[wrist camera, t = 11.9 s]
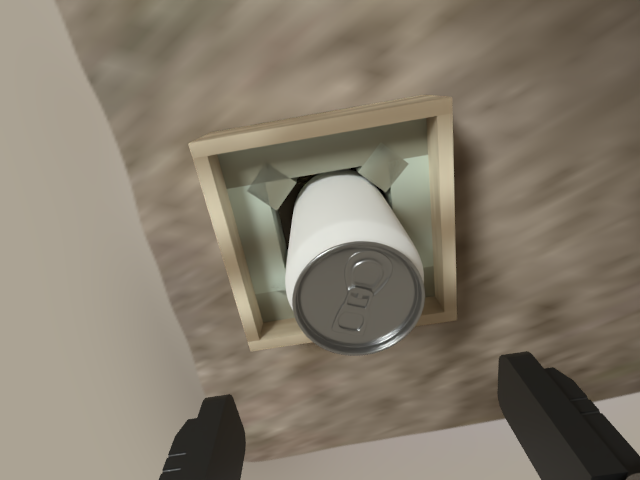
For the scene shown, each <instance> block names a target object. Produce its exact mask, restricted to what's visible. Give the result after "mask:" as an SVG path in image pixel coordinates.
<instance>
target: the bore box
mask: <svg viewBox="0 0 640 480" xmlns="http://www.w3.org/2000/svg"><path fill="white" fill-rule="evenodd" d="M188 144H189V148H190V151H191V154H192V158H193V161H194V164H195V168H196V171H197V174H198V178H199V181H200V184H201V188H202V191H203V194H204V198H205V201H206V204H207V208H208V211H209V214H210V218H211V221H212V224H213V228H214V231H215V234H216V238H217V241H218V244H219V248H220V251H221V254H222V258H223V261H224V264H225V268H226V271H227V274H228V278H229V281H230V284H231V288H232V291H233V294H234V298H235V301H236V304H237V308H238V311H239V314H240V318H241V321H242V324H243V328H244V331H245V334H246V338H247V341H248V344H249V348H250V351H258V350H264V349H271V348H277V347H284V346H291V345H297V344H304V343H310V342H312V341H311V340H310V339H309V338H308V337H307V336H306V335H305V334H304V333H303V332H302V330H301V329H300V327H299V326H298V324H297V322H296V319H295V316H294V313H293V310H292V308H291V306H290V304H289V301H288V298H287V294H286V286H285V274H286V264H287V255H288V250H287V247H286V243H285V238H284V234H283V229H282V225H281V220H280V216H279V211H278V208H279V207H280V206H281V204H282V203H283V201H284V200H285V198H286V197H287V196H288V194H289V193H290V191H291V190H292V188H293V187H294V186H295V184H296V183H297V177H300V176H306V175H312V174H318V173H324V172H330V171H336V170H342V169H348V168H353V167H355V168H356V170H357V171H358V173H360V174H361V175H362V176H364V177H365V178H366V179H368V180H369V181H371V182H372V183H373V184H375V185H376V186H377V187H379V188H380V189H382V190H383V191H384V199H385V200H386V202H387V203H388V205H389V206H390V208H391V209H392V211H393V212H394V214H395V215H396V217H397V219H398V220H399V222H400V223H401V225H402V226H403V228H404V229H405V231H406V233H407V234H408V236H409V237H410V239H411V241H412V242H413V244H414V246H415V248H416V249H417V251H418V254H419V256H420V259H421V262H422V265H423V271H424V289H425V302H424V307H423V311H422V314H421V316H420V318H419V320H418V322H417V324H416V325H415V327H416V326H423V325H429V324H436V323H442V322H449V321H456V320H457V294H456V249H455V204H454V159H453V114H452V97H445V96H434V95H420V96H414V97H408V98H403V99H397V100H391V101H386V102H380V103H374V104H369V105H363V106H357V107H352V108H346V109H340V110H335V111H329V112H323V113H318V114H312V115H306V116H301V117H295V118H289V119H284V120H278V121H272V122H267V123H261V124H255V125H250V126H244V127H239V128H233V129H227V130H222V131H216V132H211V133H209V134H207V135H205V136H203V137H201V138H199V139H197V140H194V141H192V142H190V143H188Z"/></svg>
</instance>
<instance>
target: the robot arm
mask: <svg viewBox="0 0 640 480" xmlns="http://www.w3.org/2000/svg"><path fill="white" fill-rule="evenodd" d="M498 400H499V404H500V407H501V410H502V412H503V415H504V416H505V418H506V420H507V422H508V423H509V425H510V426H511V429H512V430H513V432H514V433H515V435H516V437H517V439H518V441H519V442H520V444H521V445H522V447H523V449H524V451H525V453H526V454H527V456H528V458H529V459H530V461H531V463H532V465H533V466H534V468H535V469H536V471H537V473H538V475H539V476H540V478H541V480H640V456H639V455H638V454H637V452H636V451H635V450H634V449H633V448H632V447H631V446H630V445H629V443H628V442H627V441H626V440H625V439H624V438H623V437H622V435H621V434H620V433H619V432H618V431H617V430H616V429H615V427H614V426H613V425H612V424H611V423H610V422H609V421H608V420H607V419H606V417H605V416H604V415H603V414H601V413H600V412H599V409H598V408H597V407H596V406H595V405H594V404H593V402H592V401H591V400H588V398H587V396H586V395H585V393H584V392H583V391H582V390H581V389H580V388H579V387H578V385H577V384H576V383H575V382H574V381H573V380H572V379H570V378H569V377H567V376H566V375H564V374H563V373H561V372H559V371H558V370H556V369H555V368H553V367H552V368H545V369H544V368H543V367H542V366H541V365H540V364H539V362H538V361H537V360H536V359H535V357H534V356H533V355H532V354H531V353H530V352H527V351H526V352H520V353H513V354H506V355H501V356H500V357H499V369H498ZM245 445H246V441H245V432H244V428H243V425H242V422H241V419H240V416H239V413H238V411H237V408H236V405H235V402H234V399H233V397H232V395H230V394H229V395H222V396H215V397H208V398H205V399H204V400H203V402H202V405H201V408H200V412H199V414H198V417H197V418H195V419H188V420H187V422H186V423H185V424H184V425H183V427H182V428H181V429H180V431H179V432H178V433H177V435H176V436H175V438H174V441H173V443H172V446H171V449H170V451H169V454H168V455H169V457H168V458H167V459H166V462H165V465H164V467H163V473H162V474H161V475H160V478H159V480H240V478H241V472H242V466H243V461H244V455H245Z"/></svg>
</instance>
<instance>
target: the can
mask: <svg viewBox="0 0 640 480" xmlns="http://www.w3.org/2000/svg"><path fill="white" fill-rule="evenodd" d="M285 286H286V294H287V298H288V301H289V304H290V306H291V308H292V310H293V313H294V316H295V319H296V322H297V324H298V326H299V327H300V329H301V330H302V332H303V333H304V334H305V335H306V336H307V337H308V338H309V339H310V340H311V341H312V342H313V343H315V344H316V345H318V346H320V347H321V348H323V349H325V350H328V351H330V352H333V353H337V354H342V355H350V356H360V355H368V354H373V353H377V352H380V351H383V350H385V349H388V348H390V347H392V346H393V345H395V344H397V343H398V342H400V341H401V340H402V339H403V338H405V337H406V336H407V335H408V334H409V333H410V332H411V331H412V329H413V328H414V327H415V325H416V324H417V322H418V320H419V318H420V316H421V314H422V311H423V307H424V302H425V289H424V271H423V265H422V262H421V259H420V256H419V254H418V251H417V249H416V248H415V246H414V244H413V242H412V241H411V239H410V237H409V236H408V234H407V233H406V231H405V229H404V228H403V226H402V225H401V223H400V222H399V220H398V219H397V217H396V215H395V214H394V212H393V211H392V209H391V208H390V206H389V205H388V203H387V202H386V200H385V199H384V197H383V196H382V194H381V193H380V191H379V190H378V188H377V187H376V186H375V185H374V184H373V183H372V182H371V181H369V180H368V179H366V178H365V177H364V176H362V175H361V174H360V173H358V172H356V171H352V170H345V169H342V170H336V171H330V172H324V173H320V174H318V175H316V176H315V177H313V178H312V179H310V180H309V181H308V182H307V183H306V184H305V185H304V186H303V188H302V189H301V191H300V192H299V194H298V196H297V199H296V202H295V206H294V211H293V217H292V224H291V232H290V239H289V247H288V255H287V264H286V274H285Z"/></svg>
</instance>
